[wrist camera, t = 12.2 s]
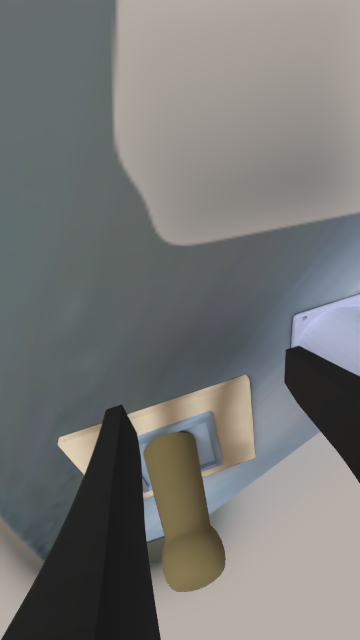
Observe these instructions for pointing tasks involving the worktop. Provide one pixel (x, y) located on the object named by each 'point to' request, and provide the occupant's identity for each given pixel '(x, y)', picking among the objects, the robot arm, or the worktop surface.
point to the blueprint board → (186, 428)
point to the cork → (183, 513)
